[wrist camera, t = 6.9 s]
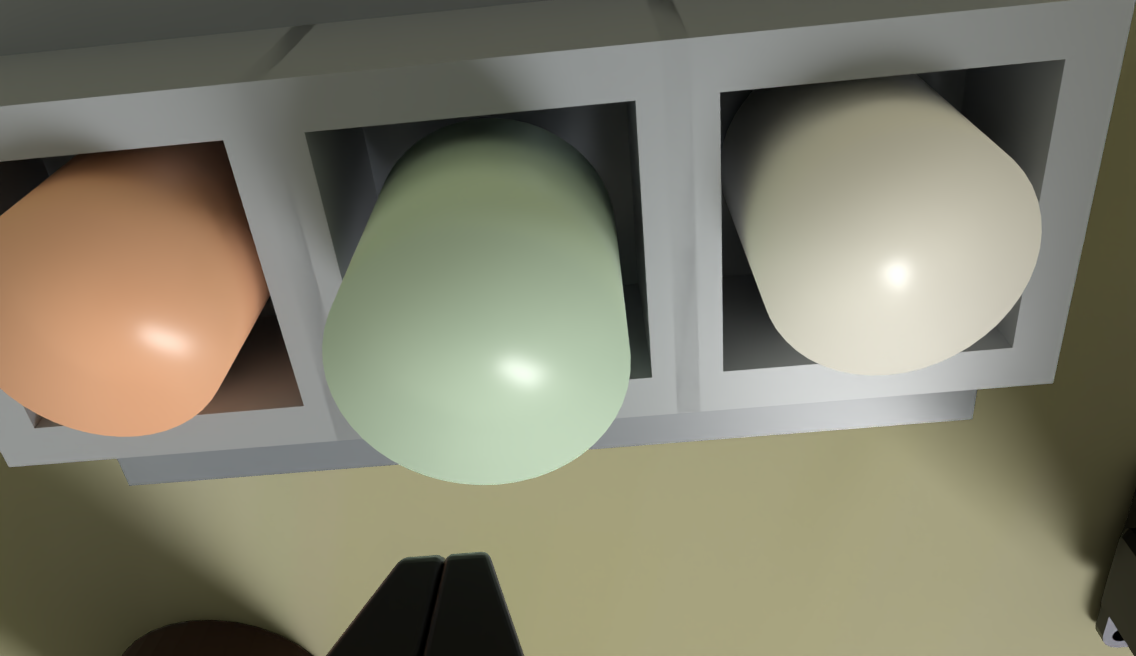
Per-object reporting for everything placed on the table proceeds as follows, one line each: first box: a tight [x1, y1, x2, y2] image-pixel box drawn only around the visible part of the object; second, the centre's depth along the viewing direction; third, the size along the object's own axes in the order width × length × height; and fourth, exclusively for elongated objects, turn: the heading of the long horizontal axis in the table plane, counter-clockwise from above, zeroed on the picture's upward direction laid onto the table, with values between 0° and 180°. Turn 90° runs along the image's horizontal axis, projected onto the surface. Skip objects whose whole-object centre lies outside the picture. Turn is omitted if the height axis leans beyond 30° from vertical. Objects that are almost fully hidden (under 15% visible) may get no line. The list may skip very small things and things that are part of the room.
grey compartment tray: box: [0, 0, 1136, 486], centre depth 16 cm, size 19×13×4 cm
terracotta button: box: [0, 140, 270, 437], centre depth 16 cm, size 4×4×4 cm
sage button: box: [322, 118, 631, 485], centre depth 14 cm, size 4×4×4 cm
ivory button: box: [721, 74, 1042, 376], centre depth 15 cm, size 4×4×4 cm
